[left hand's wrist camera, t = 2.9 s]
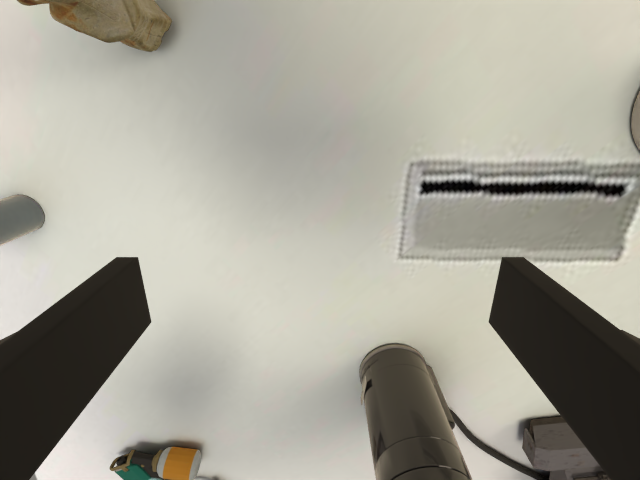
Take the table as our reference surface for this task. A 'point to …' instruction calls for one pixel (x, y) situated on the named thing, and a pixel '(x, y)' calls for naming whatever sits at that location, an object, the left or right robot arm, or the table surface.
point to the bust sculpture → (636, 121)
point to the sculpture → (112, 20)
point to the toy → (559, 451)
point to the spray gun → (159, 465)
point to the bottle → (19, 217)
